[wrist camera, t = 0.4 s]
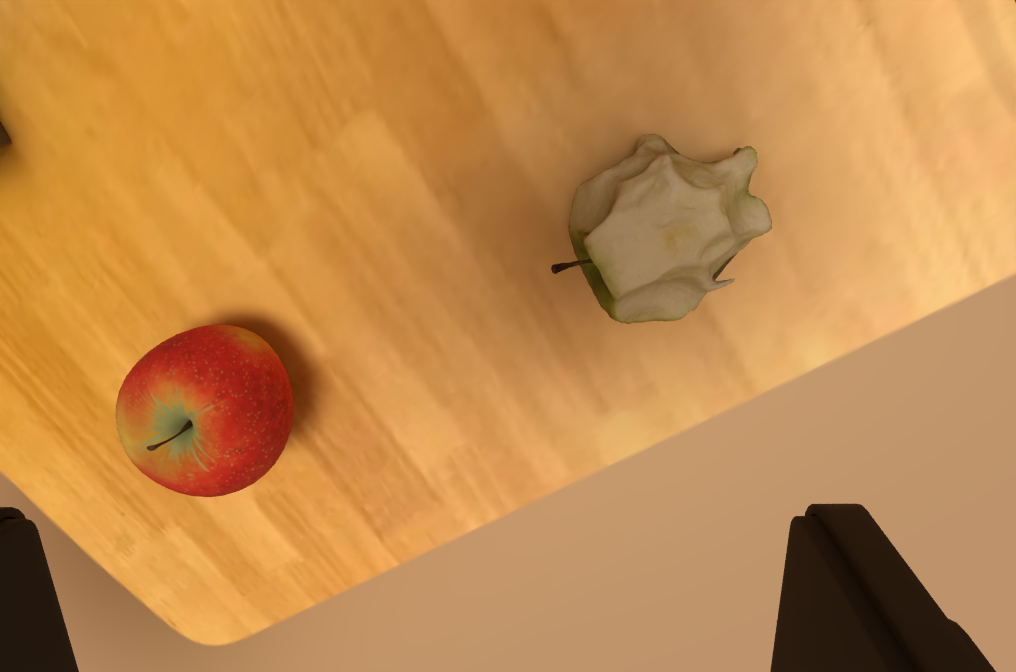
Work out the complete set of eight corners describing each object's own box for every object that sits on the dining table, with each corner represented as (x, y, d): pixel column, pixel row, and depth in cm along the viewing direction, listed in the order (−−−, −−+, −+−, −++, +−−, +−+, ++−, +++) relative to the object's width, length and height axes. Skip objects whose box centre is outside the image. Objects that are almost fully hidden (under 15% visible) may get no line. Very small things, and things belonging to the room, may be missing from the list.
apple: (213, 453, 43) (127, 563, 34) (144, 330, 41) (30, 413, 31) (339, 412, 42) (286, 515, 33) (277, 284, 40) (199, 356, 30)
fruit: (554, 284, 41) (531, 313, 33) (604, 111, 38) (592, 98, 30) (720, 334, 39) (737, 375, 32) (783, 159, 37) (817, 159, 29)
